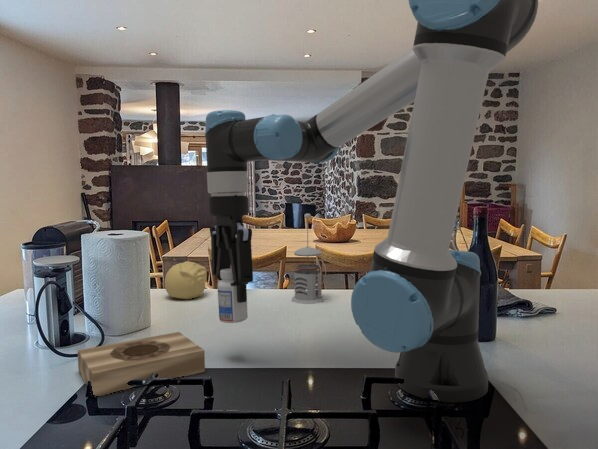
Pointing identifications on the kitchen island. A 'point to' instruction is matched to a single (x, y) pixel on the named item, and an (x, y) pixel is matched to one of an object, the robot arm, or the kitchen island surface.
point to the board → (139, 361)
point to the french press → (308, 276)
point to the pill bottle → (226, 297)
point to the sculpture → (185, 280)
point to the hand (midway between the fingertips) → (233, 315)
